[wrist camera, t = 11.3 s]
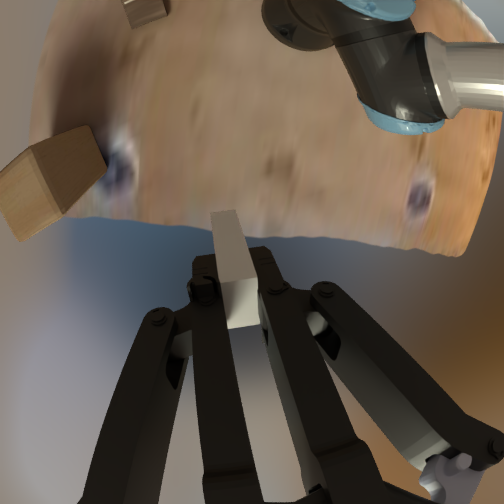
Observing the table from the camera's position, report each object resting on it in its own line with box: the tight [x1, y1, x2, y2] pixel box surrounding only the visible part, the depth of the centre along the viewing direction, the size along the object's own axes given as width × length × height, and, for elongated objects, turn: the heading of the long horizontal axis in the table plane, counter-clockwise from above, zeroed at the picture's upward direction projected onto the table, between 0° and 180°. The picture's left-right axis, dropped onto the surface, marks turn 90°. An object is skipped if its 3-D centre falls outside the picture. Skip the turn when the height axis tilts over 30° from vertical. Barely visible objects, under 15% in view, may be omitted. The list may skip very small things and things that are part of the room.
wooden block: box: [0, 125, 107, 242], centre depth 31 cm, size 10×10×20 cm
